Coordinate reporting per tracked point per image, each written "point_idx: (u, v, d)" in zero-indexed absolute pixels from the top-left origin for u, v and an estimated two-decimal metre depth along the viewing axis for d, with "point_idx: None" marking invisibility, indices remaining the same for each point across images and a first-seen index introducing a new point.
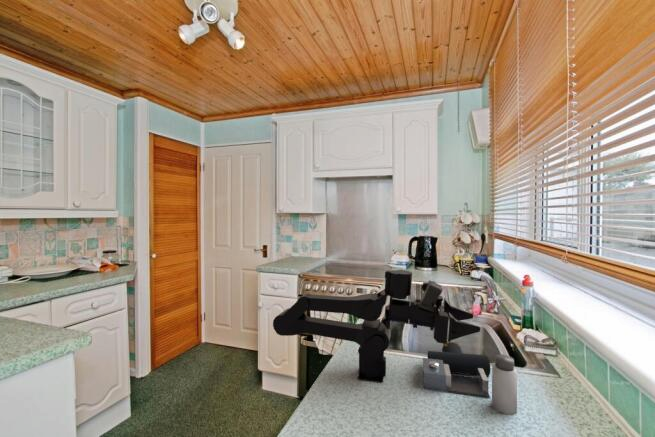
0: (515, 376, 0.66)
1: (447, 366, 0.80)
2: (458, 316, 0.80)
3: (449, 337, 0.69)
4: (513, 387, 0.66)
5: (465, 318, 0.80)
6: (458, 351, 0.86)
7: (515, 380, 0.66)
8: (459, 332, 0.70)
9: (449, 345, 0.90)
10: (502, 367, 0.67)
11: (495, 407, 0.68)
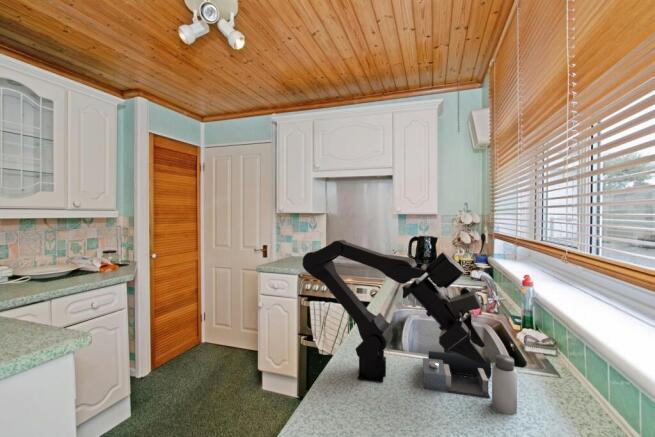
0: (515, 376, 0.66)
1: (447, 366, 0.80)
2: (470, 336, 0.75)
3: (452, 348, 0.65)
4: (513, 387, 0.66)
5: (475, 342, 0.75)
6: None
7: (515, 380, 0.66)
8: (464, 351, 0.66)
9: None
10: (502, 367, 0.67)
11: (495, 407, 0.68)
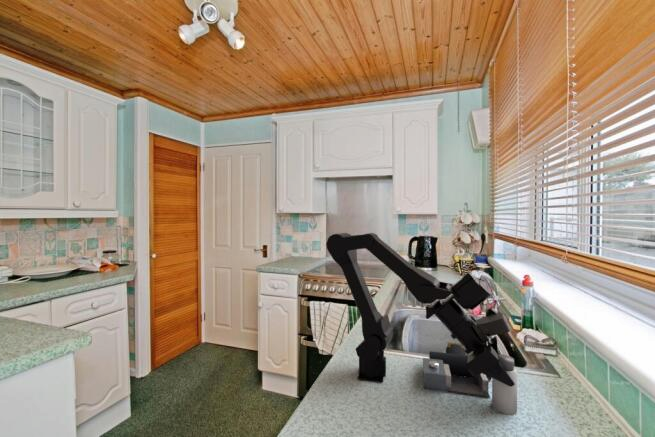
0: (515, 376, 0.66)
1: (447, 366, 0.80)
2: None
3: None
4: (513, 387, 0.66)
5: None
6: (460, 353, 0.85)
7: (515, 380, 0.66)
8: (492, 372, 0.66)
9: (452, 346, 0.89)
10: None
11: (495, 407, 0.68)
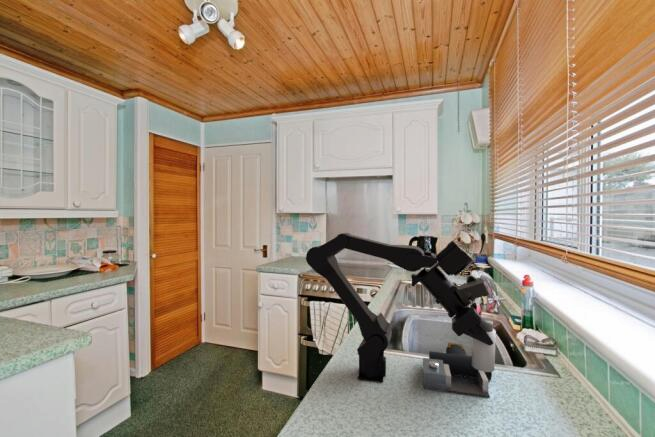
0: (494, 336, 0.71)
1: (447, 366, 0.80)
2: None
3: None
4: (491, 346, 0.70)
5: None
6: (460, 353, 0.85)
7: (494, 340, 0.71)
8: (473, 333, 0.70)
9: (452, 347, 0.89)
10: None
11: (475, 366, 0.72)
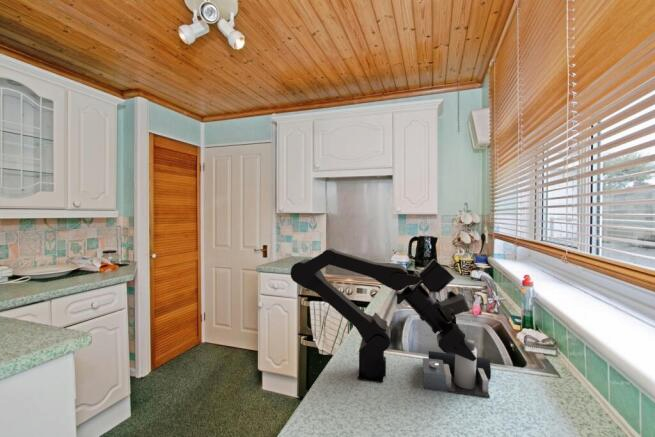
0: (475, 355, 0.75)
1: (447, 366, 0.80)
2: None
3: (450, 348, 0.70)
4: (473, 365, 0.75)
5: None
6: None
7: None
8: (458, 350, 0.72)
9: None
10: None
11: (458, 383, 0.76)
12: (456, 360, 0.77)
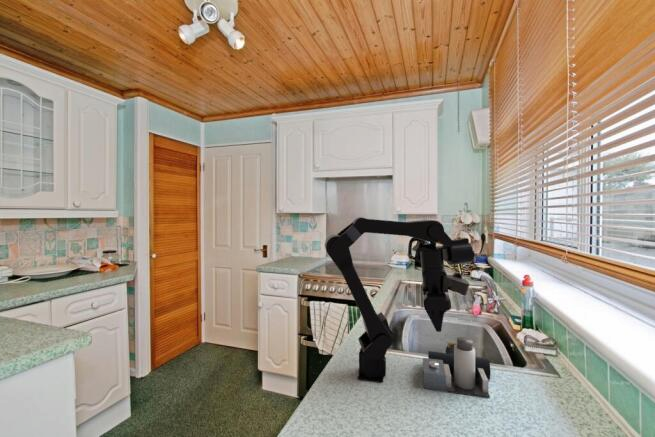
0: (474, 354, 0.75)
1: (447, 366, 0.80)
2: None
3: (429, 309, 0.75)
4: (472, 364, 0.75)
5: None
6: None
7: (474, 358, 0.75)
8: (433, 315, 0.77)
9: (452, 347, 0.89)
10: (463, 348, 0.75)
11: (457, 384, 0.76)
12: (455, 361, 0.77)
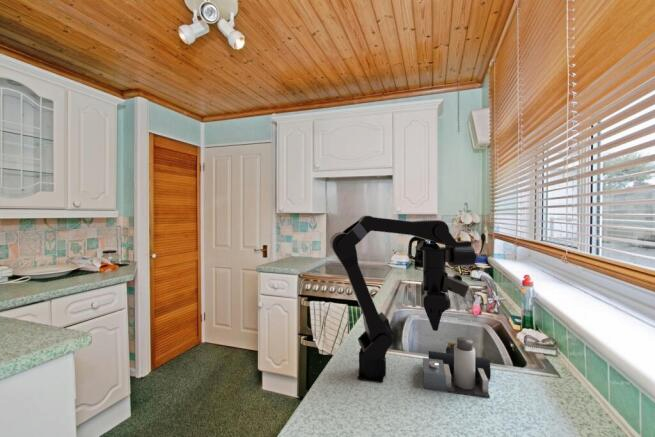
0: (474, 354, 0.75)
1: (447, 366, 0.80)
2: None
3: (428, 307, 0.76)
4: (472, 364, 0.75)
5: None
6: None
7: (474, 358, 0.75)
8: (431, 314, 0.78)
9: (452, 347, 0.89)
10: (463, 348, 0.75)
11: (458, 384, 0.76)
12: (455, 361, 0.77)
